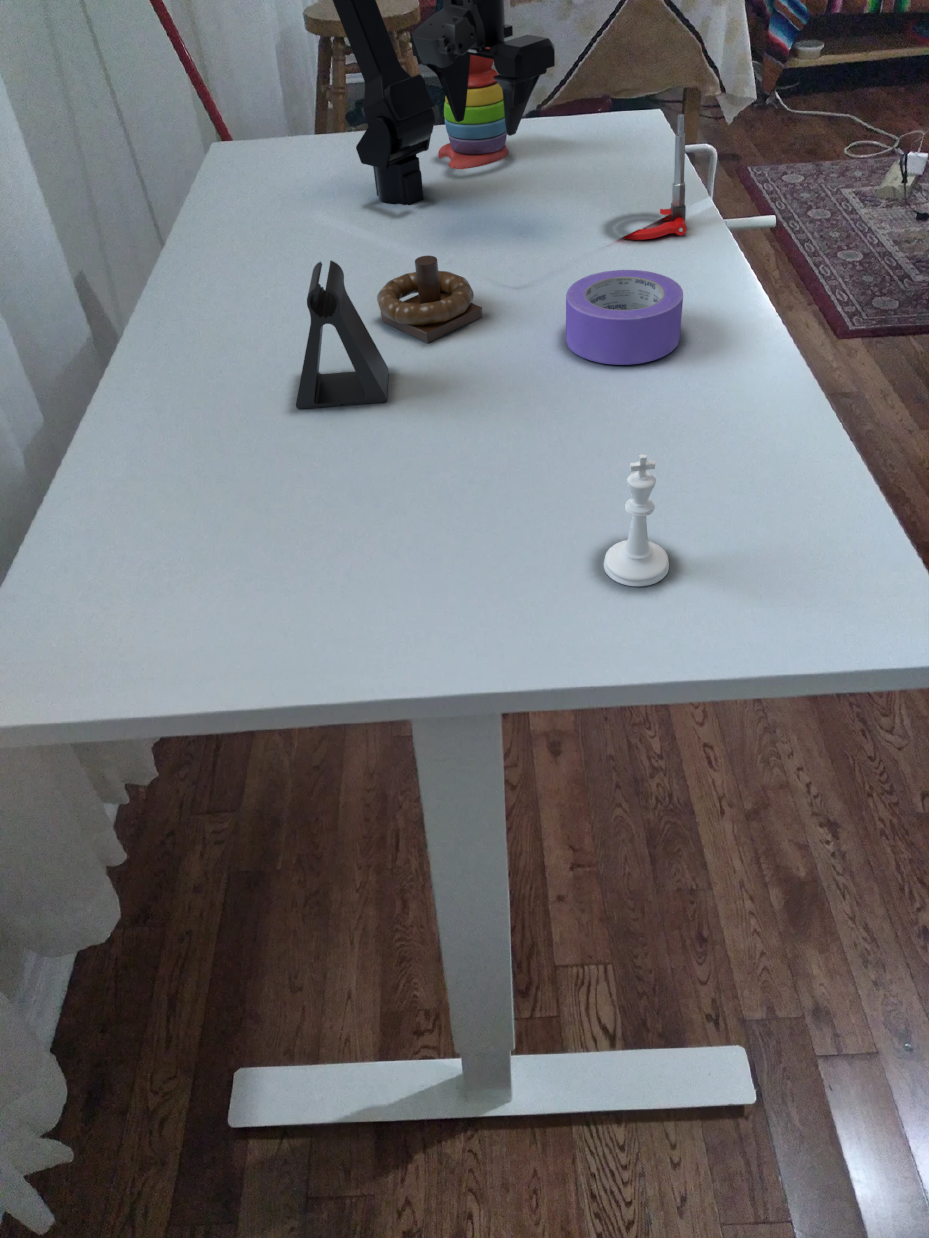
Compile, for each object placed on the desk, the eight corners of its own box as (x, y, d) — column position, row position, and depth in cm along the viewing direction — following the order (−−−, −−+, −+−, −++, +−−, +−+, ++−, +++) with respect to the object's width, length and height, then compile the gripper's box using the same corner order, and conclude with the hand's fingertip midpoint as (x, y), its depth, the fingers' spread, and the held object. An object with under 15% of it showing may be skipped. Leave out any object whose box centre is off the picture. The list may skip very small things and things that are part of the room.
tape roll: (581, 308, 106) (582, 264, 103) (688, 318, 103) (693, 272, 100) (552, 360, 98) (552, 313, 95) (667, 372, 95) (671, 324, 92)
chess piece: (598, 549, 76) (601, 440, 69) (660, 542, 76) (669, 433, 69) (610, 590, 72) (615, 480, 65) (675, 583, 72) (687, 472, 66)
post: (381, 321, 108) (373, 262, 103) (435, 296, 111) (430, 238, 107) (427, 343, 103) (421, 283, 98) (482, 317, 107) (479, 257, 102)
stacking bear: (435, 156, 147) (424, 21, 135) (499, 146, 148) (494, 12, 136) (452, 178, 139) (441, 38, 127) (519, 168, 141) (515, 28, 129)
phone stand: (389, 372, 99) (373, 257, 91) (387, 402, 95) (370, 284, 87) (302, 378, 99) (278, 264, 91) (296, 409, 95) (270, 292, 87)
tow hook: (611, 246, 119) (688, 239, 118) (609, 134, 110) (692, 125, 109) (607, 220, 125) (680, 213, 124) (605, 112, 117) (683, 103, 115)
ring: (360, 309, 108) (357, 290, 106) (431, 278, 112) (429, 259, 111) (420, 338, 102) (418, 318, 100) (492, 303, 106) (491, 284, 105)
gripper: (367, -18, 108) (385, 132, 119) (480, -1, 97) (489, 162, 108) (442, -37, 113) (453, 108, 124) (557, -23, 102) (558, 135, 113)
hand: (485, 128), depth 117 cm, fingers open, 9 cm apart
